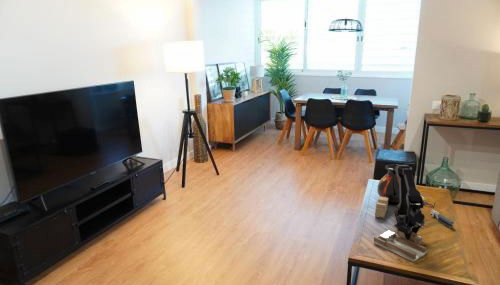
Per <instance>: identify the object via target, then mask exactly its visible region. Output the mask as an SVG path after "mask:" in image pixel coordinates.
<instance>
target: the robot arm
mask: <svg viewBox="0 0 500 285" xmlns="http://www.w3.org/2000/svg"><path fill="white" fill-rule="evenodd" d="M396 165H397V167H396V168H395V171H396V175H397V176H398V178H399V192H400V203H399V204H398V206H396V210H395V211H394V214H393V215H394V217H395V221H396V223H395V224H394V225H393V226H394V227H396V228H397V231H398V232H399V231H400V232H403V233H404V234H405V238H406V239H407V240H409V238H410V236H411V234H412V231H413V232H414V233H416V234H417V235H418V232H419V231H420V230H421V229H422V227H424V226H425V218H426V217H425V214H424V213H423V211H422V209H424V207H425V206H424V203H423V201H424V200H423V199H424V198H423V196H422V194H421V192H420V191H419V190H418V189H417V186H416V182H415V180H414V178H415V177H414V175H413V173H414V172H413V167H411V166H409V164H396Z"/></svg>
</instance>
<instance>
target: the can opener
mask: <svg viewBox="0 0 500 285" xmlns="http://www.w3.org/2000/svg"><path fill="white" fill-rule="evenodd" d="M431 214H432V215H431ZM430 215H431V216H432V217H433V218H436V221H437V220H438V222H439V223H440V224H442V223H443V224H442V225H443V226H445V225H446V226H445V227H446V228H449V229H452V227H453V228H454V223H455V222H454V221H453V220H451V219H450V218H448V217H446V216H444V215H443V214H441V213H439V212H438V211H436V210H434V208H432V209H431V210H430Z"/></svg>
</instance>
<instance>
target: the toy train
mask: <svg viewBox="0 0 500 285" xmlns="http://www.w3.org/2000/svg"><path fill="white" fill-rule="evenodd" d="M387 211H388V198H386V197H380V196H379V197H378V200H377V202H376V204H375V211H374V216H375V217H376V218H381V219H385V216H386V214H387Z"/></svg>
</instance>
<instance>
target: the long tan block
mask: <svg viewBox="0 0 500 285" xmlns="http://www.w3.org/2000/svg"><path fill="white" fill-rule="evenodd" d="M411 231H412V230H411ZM398 234H399V236H400V237H403V238H405V234H404V233H403V232H400V231H398ZM405 239H406V238H405ZM409 240H410V241H412V242H414V243H416V244H419V245H421V246H422V243H423V237H422V236H420V235H419V234H418V233H417V234H416V233H414V232H413V231H412V234H411V236H410V238H409Z"/></svg>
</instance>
